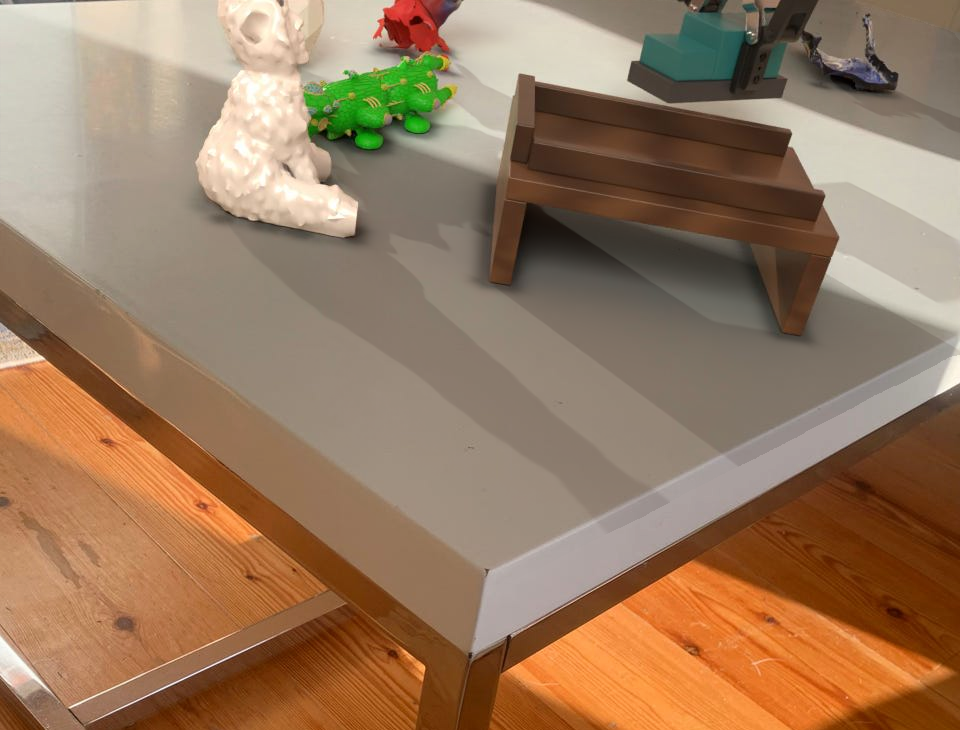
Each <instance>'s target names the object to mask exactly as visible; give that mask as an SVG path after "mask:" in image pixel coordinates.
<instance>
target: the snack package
mask: <svg viewBox="0 0 960 730" xmlns="http://www.w3.org/2000/svg"><path fill="white" fill-rule="evenodd" d="M854 13H855V14H856V15H857V14H859V13H858V11H855V12H854ZM839 15H842V13H841V12H839ZM871 17H872V15H871V13H866V14H863V16H862V17H861V21H862V24H861V25H862V27H863V28H865V36H866V39H865V41H866V43H865V48H864V56H865V58H866V59H864V58H862V57H849V58H840V57H836V56H833V55H829V54H826V53H825V52H823V51H822V50H821V49H819V44H820V43H821V41H822V40H823V37H822V36H818V37H817V36H814V35H813V34H812V33H811V32H809V31H806V30H805V29H806V27H805V28H804V30H803V32H802V34H801V36H800V39H801V43H802V45H803V48H804V50H805V52H806V54H807V58H808V60H809V62H810V63H812V64H813V65H814V66H817V67H819V68H820V70H821V74H822V76H824V77H825V76H838V77H843V78H845V79H850V80H852V82H853V83H854V84H855V85H854V86H855V91H864V90H865V91H869V90H870V91H871V92H872V91H884V90H887V91H896V89H897V86H898V82H899V75H900V74H899V73H898V72H897V71H891V69H889V68H888V67H887V66H886V63H885V62H884V60H881V59H880V58H879V57H878V56H877V53H876V51H875V49H876V47H877V43H876V38H874V37H873V30H874V26H873V25H874V24H873V21H872V18H871ZM819 24H820V25H823V21H822V20H819ZM816 34H817V35H819V34H820V33H819V32H816ZM819 84H820V85H823V84H824V82H819ZM847 90H849V87H847Z"/></svg>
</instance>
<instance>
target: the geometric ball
mask: <svg viewBox="0 0 960 730" xmlns="http://www.w3.org/2000/svg"><path fill="white" fill-rule="evenodd" d="M227 1H230V0H218V6H217V19H218V21H219V23H220V25H221V27H222V29H223V31H224V34H225V36H226V37H227V39H228V41H230V39H229V37H228V34H227V30H226V26H225V19H226V16H227V12H226V9H225V5H224V4H225V3H226V2H227ZM287 1H288V6H289V9H290V10H292V11H293V12H295V13H296V14H297V15H299V16H300V17H301V18H302V19H303V21H304V25H303V26H302V27H301V28H300V29H301V31H302V32H303V34H304V36H305V37H304V40H305V42H306V50H307V52H308V54H309V55H311V53H312V51H313V49H314V47H315V44H316V42H317V40H318V38H319V36H320V34H321V31H322V29H323V26H324V23H325V2H324V0H287Z"/></svg>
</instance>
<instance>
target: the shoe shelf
mask: <svg viewBox="0 0 960 730" xmlns="http://www.w3.org/2000/svg"><path fill="white" fill-rule="evenodd" d="M507 121H508V122H507V126H506V132H505V138H504V142H503V148H502V153H501V160H500V164H499V169H498V176H497V181H496V188H495V200H494V212H493V226H492V239H491V253H490V267H489V279H488V281H489V282H490V283H495V284H502V285H505V286H506V285H507V286H511V284H512V279H513V275H514V269H515V264H516V261H517V254H518V250H519V244H520V239H521V234H522V229H523V224H524V221H525V220H524V219H525V215H526V211H527V205H528V204H534V205H539V206H544V207H550V208H555V209H560V210H566V211H571V212H577V213H584V214H588V215H593V216H599V217H605V218H610V219H616V220H622V221H627V222H633V223H639V224H644V225H649V226H655V227H661V228H665V229H671V230H679V231H684V232H688V233H694V234H698V235H699V234H700V235H706V236H710V237H715V238H721V239H727V240H733V241H738V242H744V243H748V244H749V245H750V249H751V251H752V254H753V258H754V259H755V262H756V266H757V269H758V270H759V273H760V276H761V279H762V282H763V284H764V287H765V290H766V293H767V295H768V298H769V301H770V304H771V306H772V309H773V313H774V315H775V318H776V320H777V323H778V327H779V329H780V331H781V333H783V334H788V335H795V336H799V337H800V336H802V335H803V333H804V330H805V328H806V325H807V322H808V320H809V318H810V315H811V312H812V310H813V307H814V304H815V302H816V299H817V296H818V294H819V291H820V289H821V286H822V284H823V281H824V279H825V276H826V274H827V271H828V269H829V266H830V263H831V261H832V258H833V256H834V253H835V250H836V248H837V247H838V243H839V240H840V235H839V233H838V231H837V230H836V229H837V228H836V227H835V225H834V224H833V222H832V220H831V218H830V216H829V213H828V212H827V210H826V208H825V206H824V202H825V199H826V194H825V192H824V190H823V189H818V188H815V187H814V185H813V184H812V181H811V179H810V177H809V175H808V174H807V172H806V170H805V168H804V166H803V164H802V162H801V160H800V159H799V156H798V154H797V152H796V150H795V149H794V147H793V146H789V145H790V142H791V139H792V136H793V132H792V130H791V129H790V128H787V127H781V126H776V125H770V124H766V123H759V122H754V121H749V120H744V119H738V118H735V117H734V118H733V117H726V116H722V115H719V114H718V115H717V114H712V113H706V112H701V111H695V110H689V109H686V108H680V107H674V106H669V105H664V104H659V103H653V102H649V101H642V100H638V99H632V98H627V97H621V96H616V95H611V94H606V93H600V92H595V91H589V90H585V89H579V88H573V87H568V86H565V85H557V84H554V83H553V84H552V83H548V82H541V81H536V76H535V75H530V74H526V73H518V75H517V80H516V85H515V91H514V95H512V99H511V103H510V110H509V116H508V120H507Z"/></svg>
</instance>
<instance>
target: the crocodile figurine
mask: <svg viewBox="0 0 960 730" xmlns="http://www.w3.org/2000/svg"><path fill="white" fill-rule="evenodd" d="M451 64H452V62H451V60H450V59H449V60H448V59H447V58H445V57H443V56H439V55H437V54H433V53H432V52H431V51H430V52H428V51H427V52H423V53H422V54H421V55H420V56H419V57H417V58H416V59H412V58H411V57H410V56H408V55H406V56H405V55H403V56H402V57H400V62H399V64H398V65H395V66H391V67H388V68H383V69H378V68H377V67H373V68H372V71H369V72H363V73H361V74H359V73H358V71H355V70H354V69H349V70H346V69H345V70H344V71H343V72H342V74H343V75H344V76H348V78H343V79H341V80H336V81H332V82H328V83H327V82H326V81H325V80H320V82H319V83H318V82H316V81H310V82H306V83H305V84H304V85H303V86H302V87H303V93H304V98H305V103H306V107H308V113H309V114H310V115H311V122H310V123H309V125H308V136H309V138H310V139H311V138H312V137H313V136H314V135H316V134H319V133H321V132H323V131H327V135H326V137H327V139H328V140H329V141H333V140H337V139H339V138H341V137H342V136H344V135H345V134H346V135H347V136H348V137H352V131H355V133H356V136H355V138H354V143H355V145H356V146H357V147H359V148H361V149H364V150H377V149H379V148H380V147H382V145H383V143H384V136H382V135H381V134H379V133H377V132H376V131H375V129H380V128H383V127H384V126H385V127H386V126H389V125H390V124H391V123H392V121H393V118H396V119H397V120H398V121H402V119H403V116H404V118H405V121H404V123H403V127H404V129H405V130H406V131H408V132H410V133H413V134H425V133H427V132H429V130H430V129H431V121H430V120H429V119H427V118H425V117H424V116H423V115H421V114H420V113H425V114H426V113H427V114H428V113H431V112H433V111H436V110H442V109H443V110H444V108H445V107H446V105H447V103H448V102H449V101H450V100H452V99H454V96H456V94H457V92H458V86H456V85H455V84H447V85H446V84H445V85H443V86H442V88H441V89H438V86H439V84H438V82H439V78H437V76H436V74H435V72H434V71H435V70H436V71H438V72H442V71H444V69H446V68H448V69H449V67H450V66H451ZM310 143H313V142H312V140H311V141H310Z"/></svg>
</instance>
